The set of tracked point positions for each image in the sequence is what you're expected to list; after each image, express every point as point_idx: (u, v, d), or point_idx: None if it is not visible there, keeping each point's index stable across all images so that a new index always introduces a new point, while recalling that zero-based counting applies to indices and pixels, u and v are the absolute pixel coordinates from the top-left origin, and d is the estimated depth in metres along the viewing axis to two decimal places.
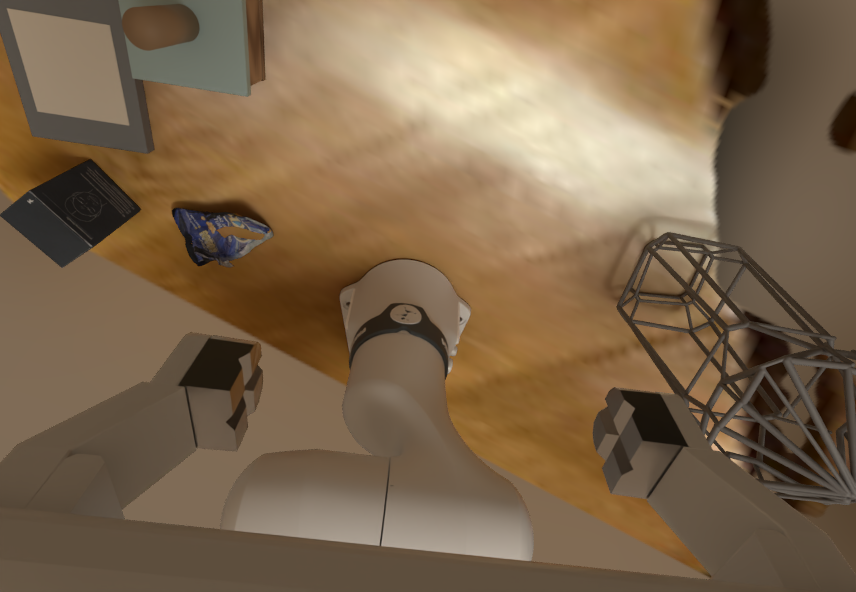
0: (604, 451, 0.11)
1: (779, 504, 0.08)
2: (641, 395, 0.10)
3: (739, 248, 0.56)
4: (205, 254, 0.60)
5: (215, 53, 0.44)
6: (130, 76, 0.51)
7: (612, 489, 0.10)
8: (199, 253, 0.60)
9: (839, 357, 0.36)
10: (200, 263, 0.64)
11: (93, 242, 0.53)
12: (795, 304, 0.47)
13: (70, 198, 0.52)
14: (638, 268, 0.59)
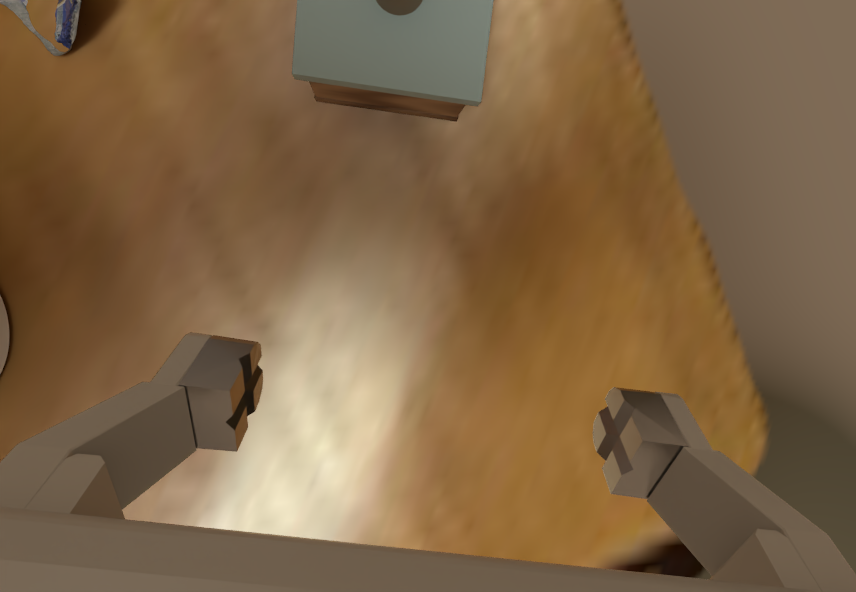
0: (604, 451, 0.11)
1: (779, 504, 0.08)
2: (641, 395, 0.10)
3: None
4: None
5: (357, 31, 0.27)
6: None
7: (613, 489, 0.10)
8: None
9: None
10: None
11: None
12: None
13: None
14: None
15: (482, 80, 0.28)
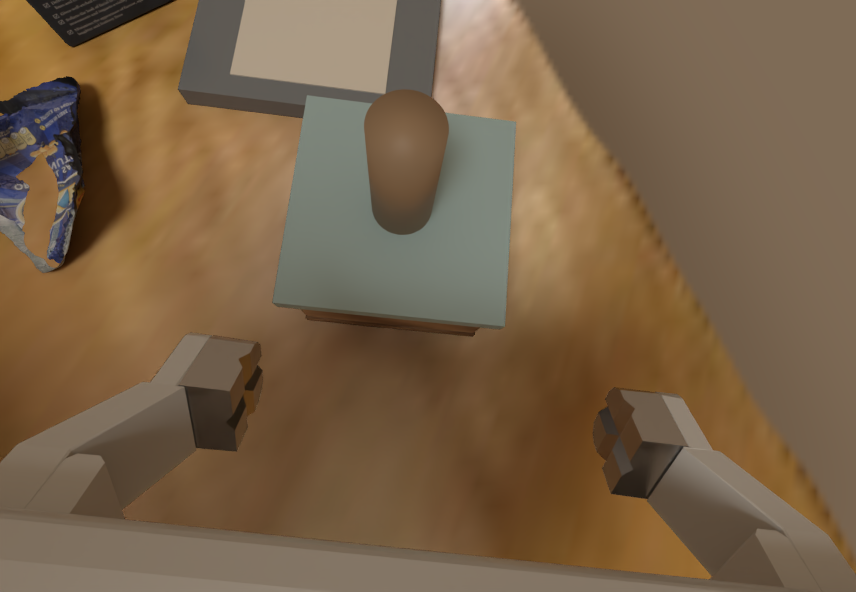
0: (604, 451, 0.11)
1: (779, 504, 0.08)
2: (641, 395, 0.10)
3: None
4: None
5: (353, 253, 0.23)
6: None
7: (612, 489, 0.10)
8: None
9: None
10: None
11: None
12: None
13: None
14: None
15: (504, 301, 0.23)
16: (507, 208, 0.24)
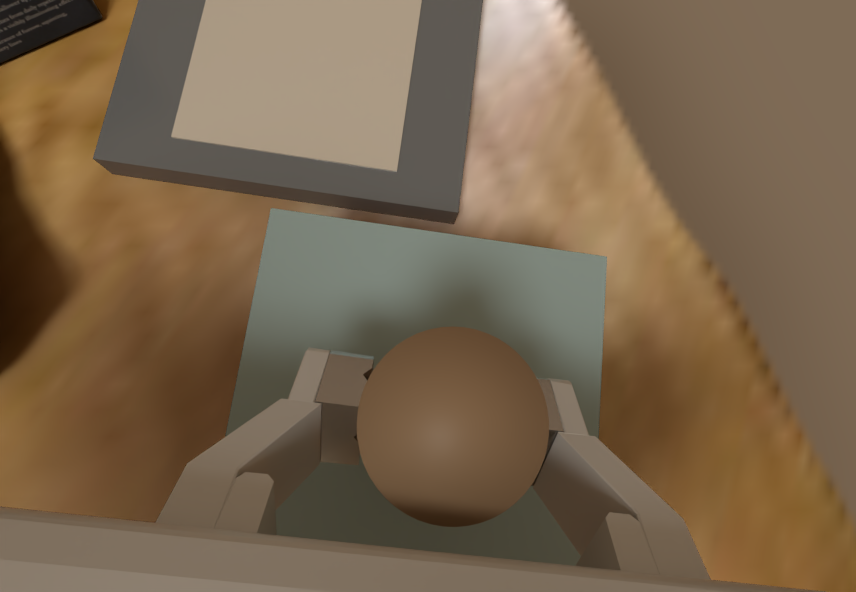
0: None
1: (641, 488, 0.08)
2: None
3: None
4: None
5: (338, 494, 0.13)
6: (288, 179, 0.21)
7: None
8: None
9: None
10: None
11: None
12: None
13: None
14: None
15: None
16: (593, 409, 0.15)
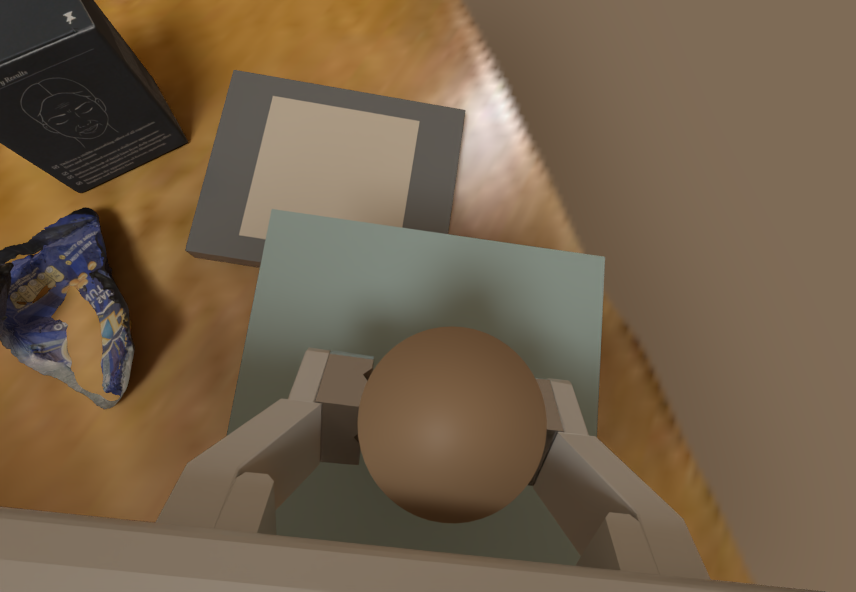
0: None
1: (641, 488, 0.08)
2: None
3: None
4: None
5: (338, 492, 0.14)
6: None
7: None
8: None
9: None
10: None
11: None
12: None
13: (85, 92, 0.25)
14: None
15: None
16: (591, 408, 0.15)
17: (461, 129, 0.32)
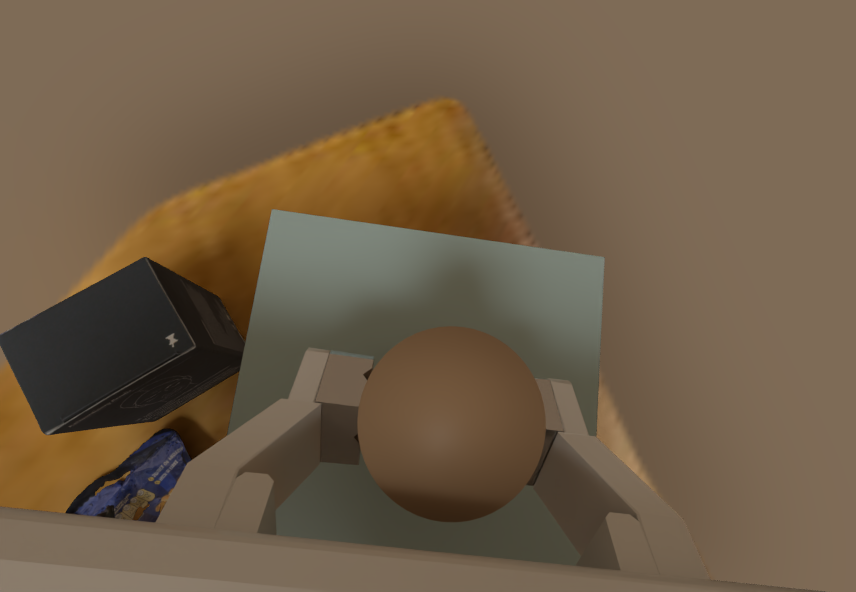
0: None
1: (641, 488, 0.08)
2: None
3: None
4: None
5: (338, 492, 0.14)
6: None
7: None
8: None
9: None
10: None
11: (58, 432, 0.22)
12: None
13: (177, 377, 0.26)
14: None
15: None
16: (591, 408, 0.15)
17: None
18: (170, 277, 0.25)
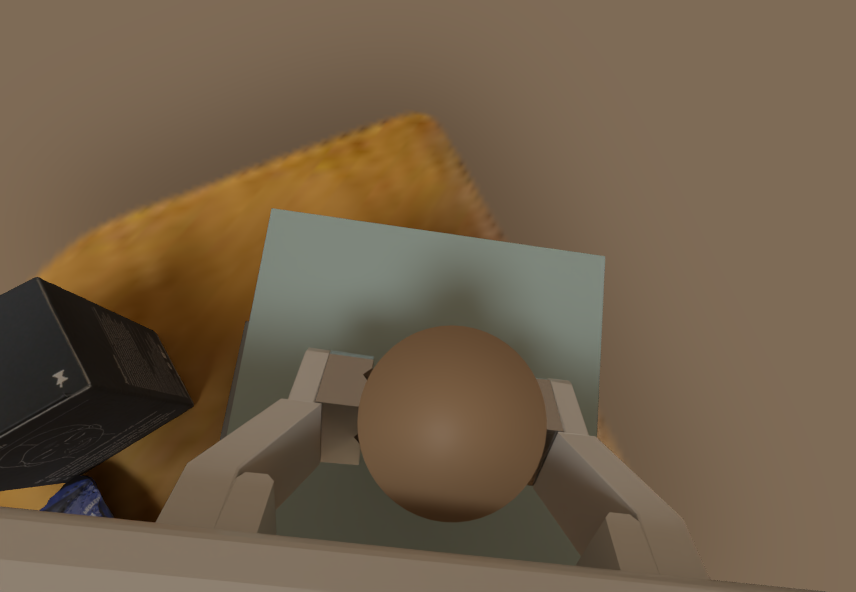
0: None
1: (641, 488, 0.08)
2: None
3: None
4: None
5: (338, 492, 0.14)
6: None
7: None
8: None
9: None
10: None
11: None
12: None
13: (78, 426, 0.21)
14: None
15: None
16: (592, 407, 0.15)
17: None
18: (74, 303, 0.21)
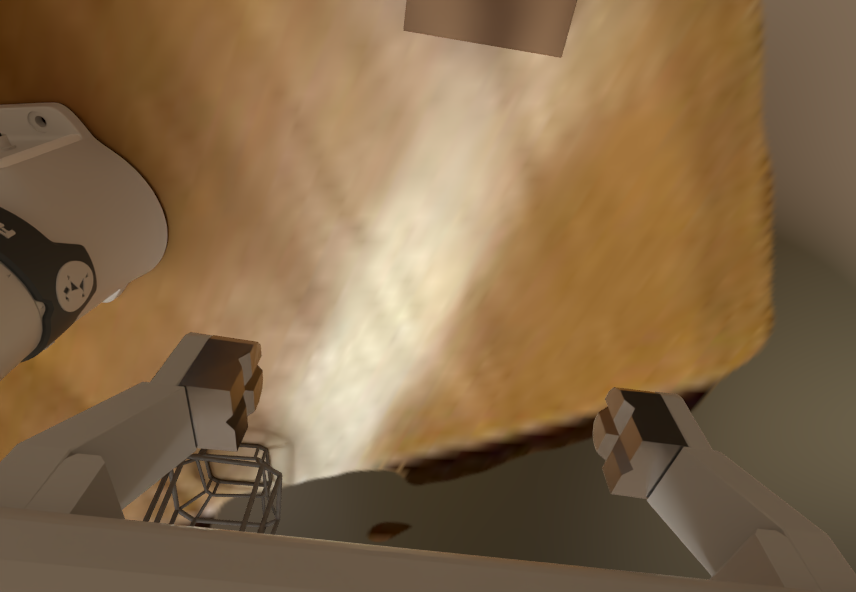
0: (604, 451, 0.11)
1: (779, 504, 0.08)
2: (641, 395, 0.10)
3: (278, 520, 0.61)
4: None
5: None
6: None
7: (612, 489, 0.10)
8: None
9: None
10: None
11: None
12: None
13: None
14: (236, 463, 0.55)
15: None
16: None
17: None
18: None
